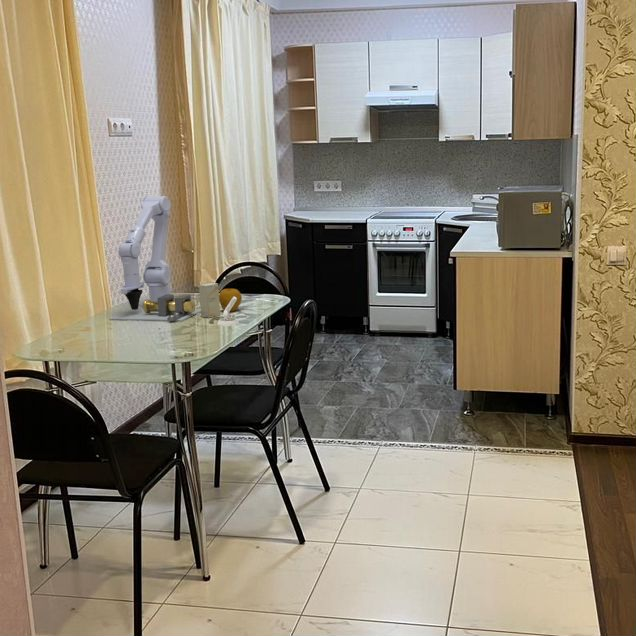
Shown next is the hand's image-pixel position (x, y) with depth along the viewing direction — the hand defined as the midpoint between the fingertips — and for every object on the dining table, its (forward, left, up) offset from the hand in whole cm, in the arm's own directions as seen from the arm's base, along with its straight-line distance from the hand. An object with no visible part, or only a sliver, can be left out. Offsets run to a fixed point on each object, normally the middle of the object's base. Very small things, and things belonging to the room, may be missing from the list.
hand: (134, 309), depth 316 cm
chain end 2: (+4, +21, -2) cm, 21 cm away
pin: (0, +15, -1) cm, 15 cm away
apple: (-11, +35, -3) cm, 37 cm away
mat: (0, +9, -2) cm, 9 cm away
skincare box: (-1, +31, -3) cm, 31 cm away
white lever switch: (+11, +43, -3) cm, 44 cm away
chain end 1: (-4, +13, -2) cm, 14 cm away
